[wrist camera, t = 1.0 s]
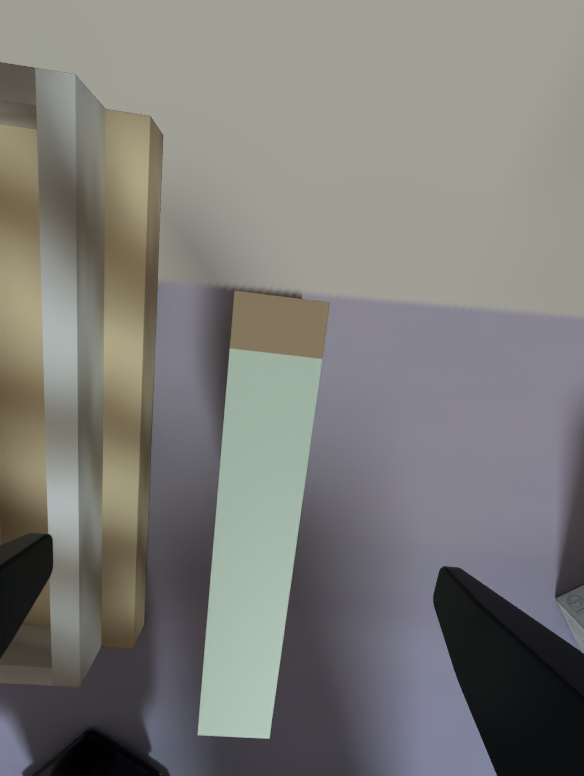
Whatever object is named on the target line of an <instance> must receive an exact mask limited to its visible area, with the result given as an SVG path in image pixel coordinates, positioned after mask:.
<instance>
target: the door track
mask: <svg viewBox="0 0 584 776" xmlns="http://www.w3.org/2000/svg"><path fill="white" fill-rule="evenodd" d="M162 155H163V134H162V133H161V131H160V130H159V128H158V127H157V125H156V124H155V122H154V121H153V119H152V118H151V117H150V116H147V115H141V114H134V113H128V112H121V111H114V110H107V109H105V108H104V107H103V105H102V104H101V103H100V102H99V101H98V100H97V99H96V97H95V96H94V95H93V94H92V93H91V92H90V91H89V89H88V88H87V87H86V86H85V85H84V84H83V82H82V81H81V80H80V79H79V78H78V77H77V76H76V74H71V73H65V72H58V71H52V70H46V69H39V68H33V67H27V66H20V65H14V64H7V63H1V62H0V545H2V544H4V543H6V542H9V541H11V540H14V539H16V538H18V537H21V536H23V535H25V534H28V533H31V532H37V533H48V534H50V535H51V536H52V538H53V570H52V573H51V576H50V578H49V580H48V581H47V583H46V585H45V586H44V588H43V590H42V592H41V593H40V595H39V597H38V598H37V600H36V602H35V603H34V605H33V607H32V608H31V610H30V612H29V613H28V615H27V617H26V619H25V620H24V622H23V624H22V625H21V627H20V629H19V630H18V632H17V634H16V635H15V637H14V639H13V640H12V642H11V643H10V645H9V647H8V648H7V650H6V651H5V653H4V654H3V656H2V657H1V659H0V683H11V684H28V685H46V686H63V687H80V686H81V684H82V682H83V680H84V679H85V677H86V675H87V673H88V671H89V669H90V667H91V665H92V663H93V661H94V660H95V658H96V656H97V654H98V652H99V650H100V648H101V647H114V648H130V649H134V646H135V644H136V642H137V639H138V637H139V635H140V632H141V630H142V628H143V625H144V618H145V592H146V567H147V541H148V515H149V489H150V464H151V438H152V412H153V387H154V361H155V335H156V309H157V284H158V257H159V232H160V231H159V230H160V206H161V205H160V203H161V179H162Z"/></svg>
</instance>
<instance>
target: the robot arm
mask: <svg viewBox="0 0 584 776" xmlns="http://www.w3.org/2000/svg"><path fill="white" fill-rule="evenodd" d="M52 570H53V538H52V536H51V535H50V534H48V533H37V532H31V533H28V534H25V535H23V536H21V537H18V538H16V539H14V540H11V541H9V542H6V543H4V544H2V545H0V659H1V657H2V656H3V654H4V653H5V651H6V650H7V648H8V647H9V645H10V643H11V642H12V640H13V639H14V637H15V635H16V634H17V632H18V630H19V629H20V627H21V625H22V624H23V622H24V620H25V619H26V617H27V615H28V613H29V612H30V610H31V608H32V607H33V605H34V603H35V602H36V600H37V598H38V597H39V595H40V593H41V592H42V590H43V588H44V586H45V585H46V583H47V581H48V580H49V578H50V576H51V573H52ZM433 602H434V607H435V611H436V614H437V617H438V620H439V623H440V626H441V630H442V633H443V636H444V639H445V642H446V645H447V649H448V652H449V655H450V658H451V661H452V665H453V668H454V670H455V673H456V676H457V679H458V682H459V684H460V687H461V689H462V692H463V694H464V697H465V699H466V701H467V704H468V706H469V709H470V711H471V714H472V716H473V718H474V721H475V723H476V726H477V728H478V730H479V733H480V735H481V738H482V740H483V743H484V745H485V747H486V750H487V752H488V755H489V757H490V759H491V762H492V764H493V767H494V769H495V772H496V774H497V776H584V653H582V652H581V651H579V650H578V649H576V648H575V647H574V646H572V645H571V644H569V643H568V642H566V641H565V640H563V639H562V638H560V637H559V636H558V635H556V634H555V633H553V632H552V631H550V630H549V629H547V628H546V627H545V626H543V625H542V624H540V623H539V622H537V621H536V620H534V619H533V618H532V617H530V616H529V615H527V614H526V613H524V612H523V611H521V610H520V609H519V608H517V607H516V606H514V605H513V604H511V603H510V602H508V601H507V600H506V599H504V598H503V597H501V596H500V595H498V594H497V593H495V592H494V591H492V590H491V589H490V588H488V587H487V586H485V585H484V584H482V583H481V582H479V581H478V580H477V579H475V578H474V577H472V576H471V575H469V574H468V573H466V572H465V571H464V570H462V569H461V568H458V567H447V566H444V567H442V568H441V569H440V571H439V574H438V578H437V582H436V587H435V591H434V596H433ZM34 776H160V775H159V774H157V773H156V772H154V771H153V770H151V769H150V768H148V767H147V766H145V765H144V764H142V763H141V762H139V761H138V760H137V759H135V758H134V757H132V756H131V755H129V754H128V753H126V752H125V751H123V750H122V749H120V748H119V747H117V746H116V745H114V744H113V743H112V742H110V741H109V740H107V739H106V738H104V737H103V736H101V735H100V734H98V733H97V732H95V731H87V732H85V733H83V734H82V735H81V736H80V737H79V738H78V739H76V740H75V741H74V742H73V743H72V744H70V745H69V746H68V747H67V748H66V749H64V750H63V751H62V752H61V753H60V754H59V755H57V756H56V757H55V758H54V759H53V760H51V761H50V762H49V763H48V764H47V765H45V766H44V767H43V768H42V769H41V770H39V771H38V772H37V773H36V774H35V775H34Z"/></svg>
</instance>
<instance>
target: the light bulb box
mask: <svg viewBox="0 0 584 776" xmlns="http://www.w3.org/2000/svg"><path fill="white" fill-rule="evenodd" d="M556 600H557V602H558V604H559V607H560V609H561V611H562V613H563V615H564V617H565V619H566V621H567V623H568V625H569V628H570V630H571V632H572V634H573V636H574V638H575V640H576V642H577V644H578V646H579V648H580V650H581V652H582V653H584V585H582V586H580V587H578V588H576V589H574V590H572V591H570V592H567V593H565V594H563V595H561V596H559V597H557V598H556Z"/></svg>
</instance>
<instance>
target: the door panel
mask: <svg viewBox="0 0 584 776" xmlns="http://www.w3.org/2000/svg"><path fill="white" fill-rule="evenodd" d="M329 307H330V302H322V301H314V300H306V299H298V298H290V297H282V296H274V295H266V294H258V293H250V292H242V291H235V292H234V304H233V316H232V328H231V340H230V352H229V364H228V376H227V388H226V400H225V412H224V424H223V436H222V448H221V460H220V472H219V484H218V496H217V508H216V520H215V532H214V543H213V555H212V567H211V579H210V591H209V603H208V615H207V627H206V639H205V651H204V663H203V675H202V687H201V699H200V711H199V723H198V735H204V736H224V737H244V738H264V739H269V738H270V730H271V723H272V716H273V709H274V702H275V695H276V687H277V680H278V673H279V666H280V659H281V651H282V644H283V637H284V630H285V623H286V616H287V608H288V601H289V594H290V587H291V580H292V573H293V565H294V558H295V551H296V544H297V537H298V529H299V522H300V515H301V508H302V501H303V494H304V486H305V479H306V472H307V465H308V458H309V451H310V443H311V436H312V429H313V422H314V415H315V407H316V400H317V393H318V386H319V379H320V372H321V364H322V357H323V350H324V343H325V336H326V329H327V321H328V314H329Z"/></svg>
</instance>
